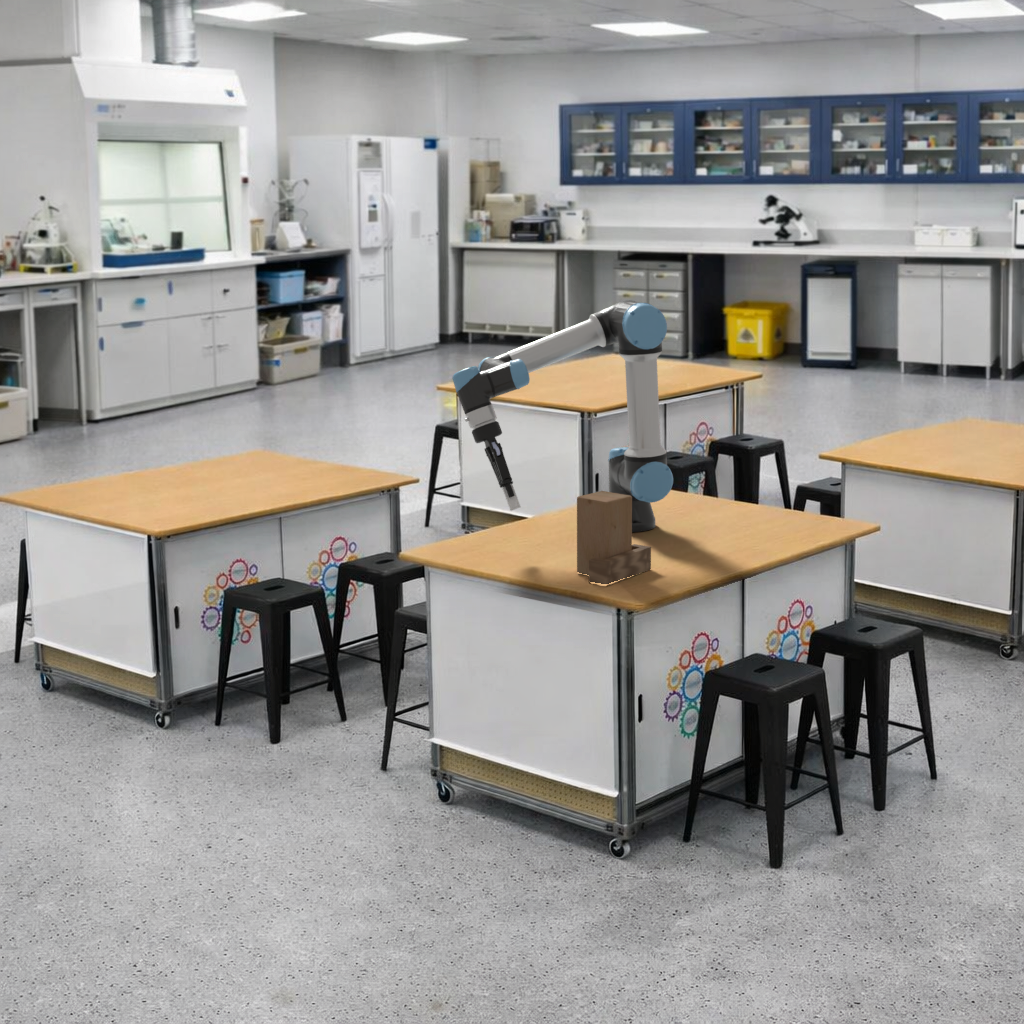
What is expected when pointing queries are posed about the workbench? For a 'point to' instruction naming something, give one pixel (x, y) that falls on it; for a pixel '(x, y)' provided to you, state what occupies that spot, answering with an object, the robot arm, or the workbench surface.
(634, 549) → the stop rail
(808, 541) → the workbench surface
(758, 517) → the workbench surface
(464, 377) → the robot arm
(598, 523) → the wooden block
